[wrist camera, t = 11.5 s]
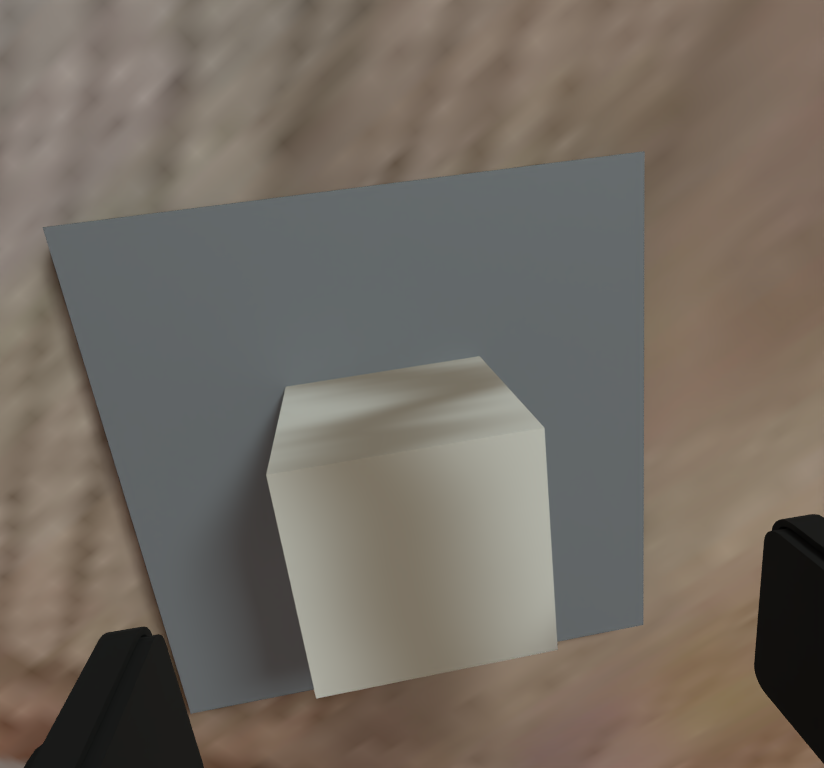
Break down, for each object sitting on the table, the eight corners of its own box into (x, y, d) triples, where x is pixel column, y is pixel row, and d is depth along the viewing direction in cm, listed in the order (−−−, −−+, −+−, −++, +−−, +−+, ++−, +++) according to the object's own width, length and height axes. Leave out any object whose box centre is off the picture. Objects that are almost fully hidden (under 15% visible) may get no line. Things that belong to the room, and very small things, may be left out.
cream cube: (479, 356, 16) (544, 427, 11) (495, 523, 17) (557, 649, 13) (285, 386, 15) (266, 475, 11) (319, 555, 17) (316, 698, 12)
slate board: (625, 153, 16) (644, 151, 15) (628, 603, 20) (643, 624, 19) (61, 225, 14) (42, 227, 13) (197, 687, 19) (190, 713, 18)
